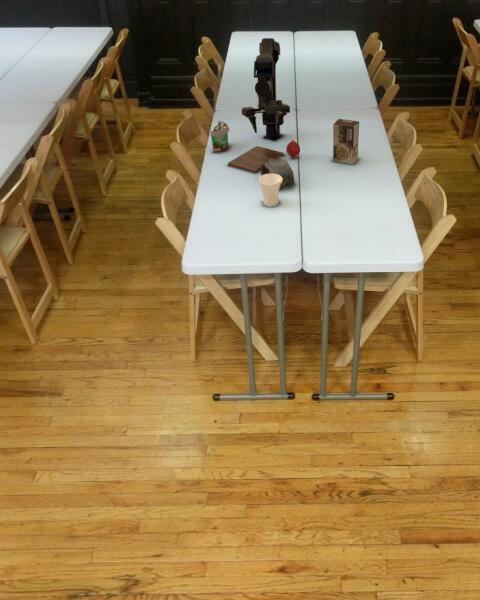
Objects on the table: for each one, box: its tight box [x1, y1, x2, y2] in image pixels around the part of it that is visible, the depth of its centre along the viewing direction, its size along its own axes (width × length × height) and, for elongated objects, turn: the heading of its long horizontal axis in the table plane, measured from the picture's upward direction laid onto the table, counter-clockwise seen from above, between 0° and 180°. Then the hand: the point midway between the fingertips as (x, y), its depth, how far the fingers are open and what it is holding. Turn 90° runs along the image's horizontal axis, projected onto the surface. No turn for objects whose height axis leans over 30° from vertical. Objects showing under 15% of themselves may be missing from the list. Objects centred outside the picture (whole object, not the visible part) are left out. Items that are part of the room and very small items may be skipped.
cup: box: [257, 174, 282, 207], centre depth 229 cm, size 9×9×10 cm
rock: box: [260, 155, 295, 190], centre depth 244 cm, size 18×11×8 cm, turn 16°
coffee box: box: [332, 118, 360, 165], centre depth 255 cm, size 9×6×16 cm
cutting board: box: [227, 145, 284, 174], centre depth 262 cm, size 20×14×1 cm
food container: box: [210, 120, 230, 154], centre depth 270 cm, size 12×6×10 cm, turn 168°
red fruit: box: [285, 139, 301, 159], centre depth 261 cm, size 6×6×8 cm
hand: (266, 132), depth 253 cm, fingers open, 9 cm apart
